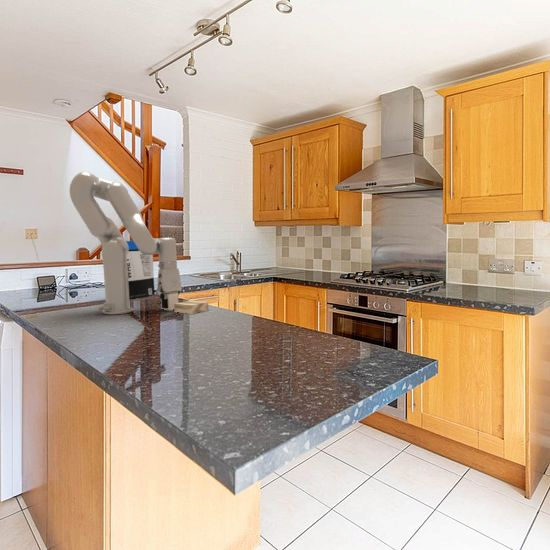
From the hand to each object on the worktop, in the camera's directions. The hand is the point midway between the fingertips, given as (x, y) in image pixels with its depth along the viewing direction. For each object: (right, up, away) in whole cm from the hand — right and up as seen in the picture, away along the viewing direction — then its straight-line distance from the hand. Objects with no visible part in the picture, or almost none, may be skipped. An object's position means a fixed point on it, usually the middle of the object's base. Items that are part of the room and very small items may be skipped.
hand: (169, 306), depth 182 cm
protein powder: (-27, +2, +39) cm, 47 cm away
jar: (0, -1, 0) cm, 1 cm away
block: (+11, -2, -6) cm, 13 cm away
